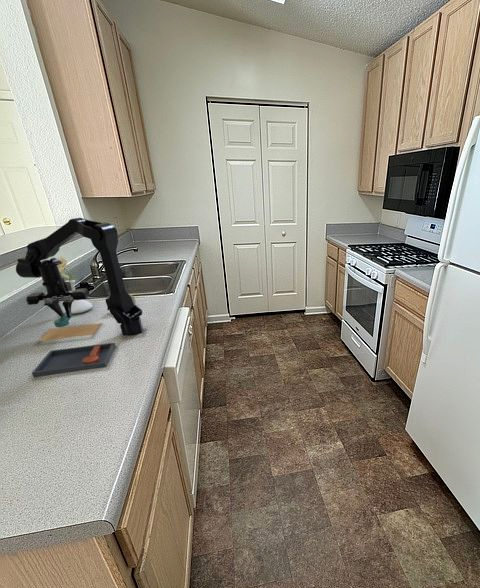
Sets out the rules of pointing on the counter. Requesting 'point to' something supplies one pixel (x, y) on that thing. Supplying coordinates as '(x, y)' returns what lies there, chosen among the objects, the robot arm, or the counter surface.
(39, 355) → the counter surface
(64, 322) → the teal spoon
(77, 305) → the flower in vase
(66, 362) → the tray
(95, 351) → the terracotta spoon
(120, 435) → the counter surface
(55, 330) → the cork mat
